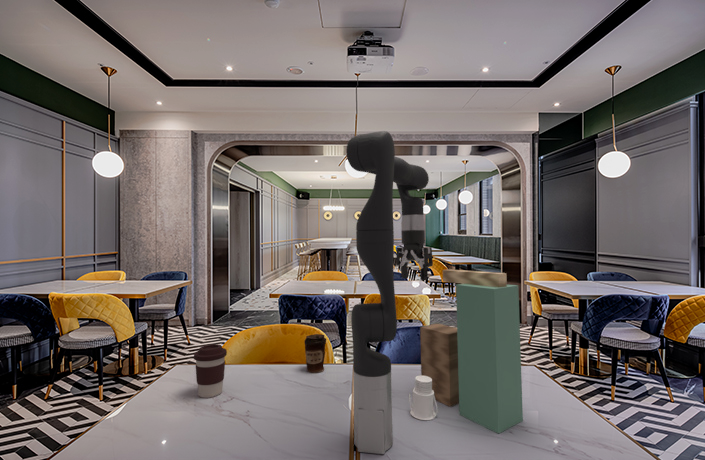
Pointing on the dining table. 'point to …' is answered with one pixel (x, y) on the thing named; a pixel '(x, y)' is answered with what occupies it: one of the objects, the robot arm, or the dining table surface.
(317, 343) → the coffee cup
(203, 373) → the coffee cup
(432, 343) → the walnut block
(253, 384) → the dining table surface
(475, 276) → the beech bar
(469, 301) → the green stand
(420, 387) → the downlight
